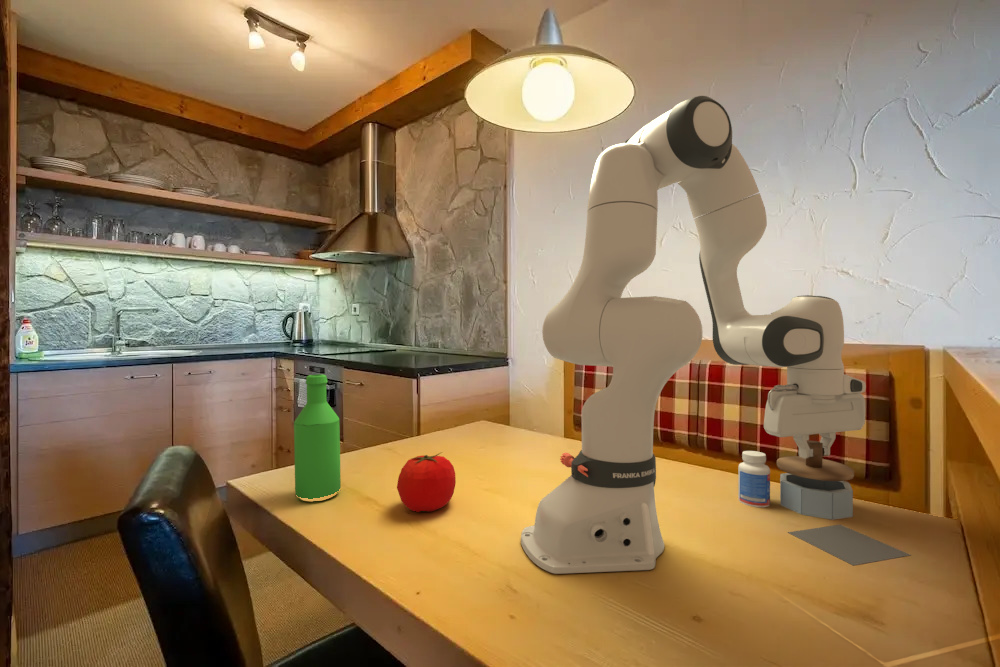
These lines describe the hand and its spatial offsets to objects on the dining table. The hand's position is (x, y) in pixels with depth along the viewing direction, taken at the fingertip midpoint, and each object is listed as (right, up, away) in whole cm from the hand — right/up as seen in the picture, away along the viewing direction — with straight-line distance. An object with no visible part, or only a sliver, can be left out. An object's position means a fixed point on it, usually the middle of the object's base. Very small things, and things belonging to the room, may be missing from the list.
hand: (814, 456), depth 88 cm
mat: (-5, -10, -15) cm, 18 cm away
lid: (0, -3, 0) cm, 3 cm away
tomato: (-73, -11, +3) cm, 74 cm away
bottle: (-96, -11, +9) cm, 97 cm away
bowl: (0, -10, 0) cm, 10 cm away
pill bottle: (-10, -10, +3) cm, 14 cm away
